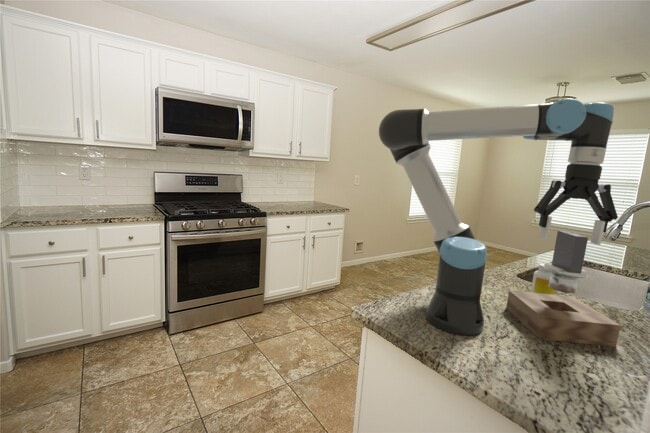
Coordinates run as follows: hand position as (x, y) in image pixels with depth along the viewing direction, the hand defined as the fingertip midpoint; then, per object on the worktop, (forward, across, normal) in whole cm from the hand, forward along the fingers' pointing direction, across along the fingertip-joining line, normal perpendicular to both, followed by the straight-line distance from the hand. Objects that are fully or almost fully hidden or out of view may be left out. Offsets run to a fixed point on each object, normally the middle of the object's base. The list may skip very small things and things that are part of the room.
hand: (569, 241), depth 90 cm
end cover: (+14, 0, 0) cm, 14 cm away
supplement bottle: (+25, +7, +19) cm, 32 cm away
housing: (+25, +1, 0) cm, 25 cm away
